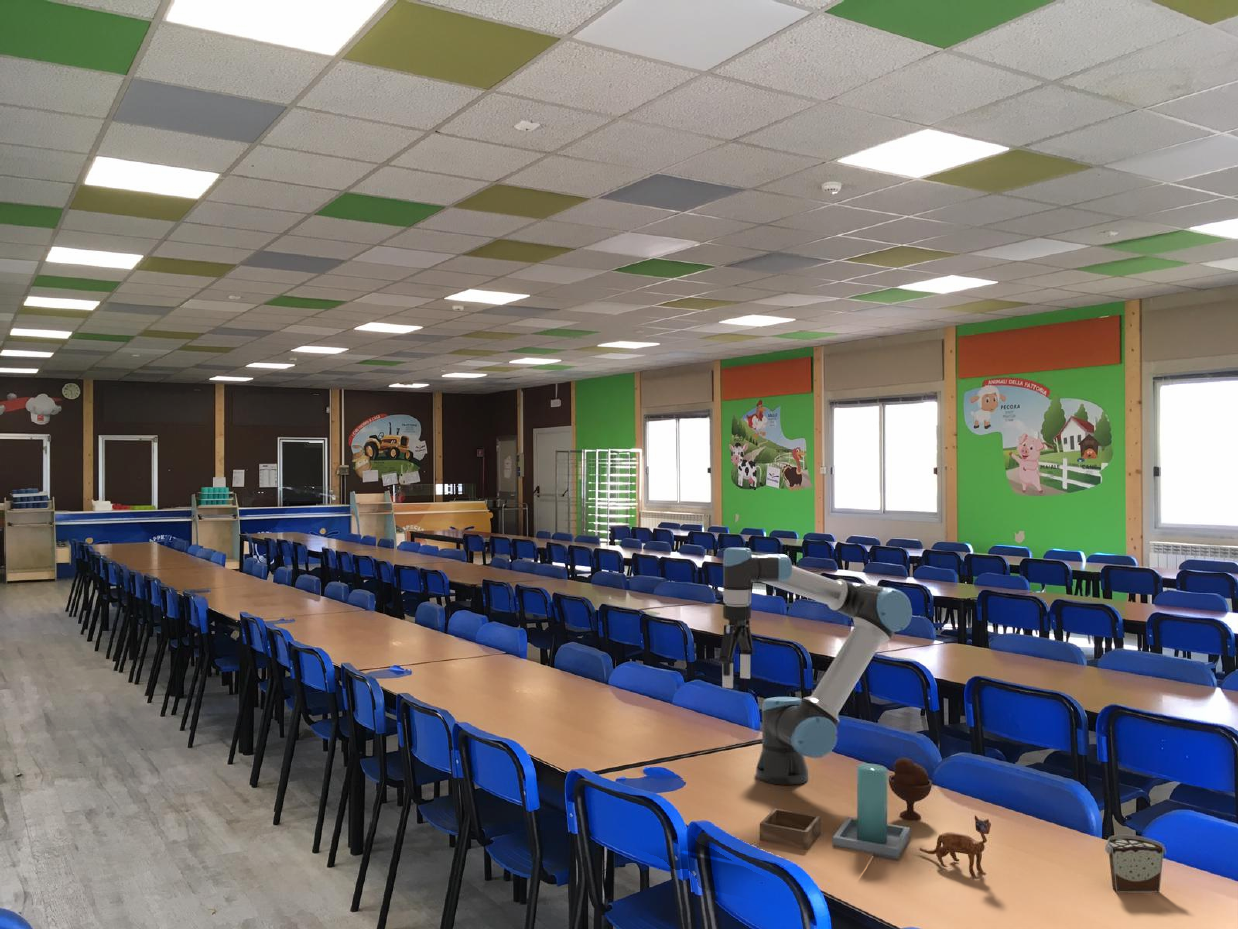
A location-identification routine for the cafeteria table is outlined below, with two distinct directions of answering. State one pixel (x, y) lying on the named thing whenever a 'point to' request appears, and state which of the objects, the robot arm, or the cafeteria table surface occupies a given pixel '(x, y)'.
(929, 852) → the cat figurine
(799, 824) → the open wooden box
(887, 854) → the tray
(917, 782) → the ice cream bowl
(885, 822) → the teal jar
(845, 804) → the cafeteria table surface
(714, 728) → the cafeteria table surface
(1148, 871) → the food container
